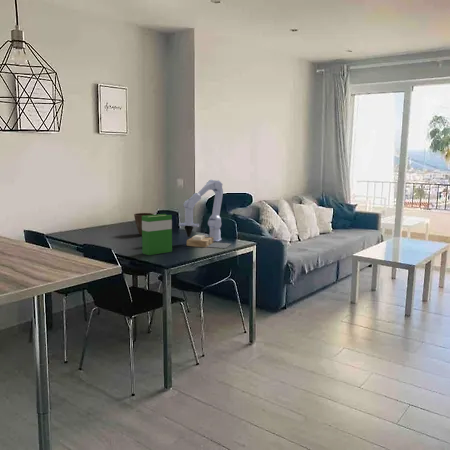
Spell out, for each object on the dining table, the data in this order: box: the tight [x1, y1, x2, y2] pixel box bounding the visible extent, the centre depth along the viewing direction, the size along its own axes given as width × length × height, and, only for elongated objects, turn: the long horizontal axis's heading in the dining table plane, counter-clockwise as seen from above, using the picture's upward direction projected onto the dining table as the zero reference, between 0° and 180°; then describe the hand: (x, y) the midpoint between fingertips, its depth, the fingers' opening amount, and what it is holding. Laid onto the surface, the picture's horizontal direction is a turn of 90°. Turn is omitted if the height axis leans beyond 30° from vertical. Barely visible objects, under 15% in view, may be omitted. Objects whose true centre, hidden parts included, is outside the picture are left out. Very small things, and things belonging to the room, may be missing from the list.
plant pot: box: [133, 212, 155, 236], centre depth 367 cm, size 15×15×16 cm
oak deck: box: [186, 236, 214, 248], centre depth 332 cm, size 16×14×4 cm
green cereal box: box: [141, 213, 173, 256], centre depth 303 cm, size 18×7×24 cm, turn 130°
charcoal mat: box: [206, 242, 232, 250], centre depth 328 cm, size 16×13×1 cm
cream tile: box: [192, 234, 206, 240], centre depth 331 cm, size 9×6×2 cm, turn 163°
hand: (189, 236), depth 334 cm, fingers closed
